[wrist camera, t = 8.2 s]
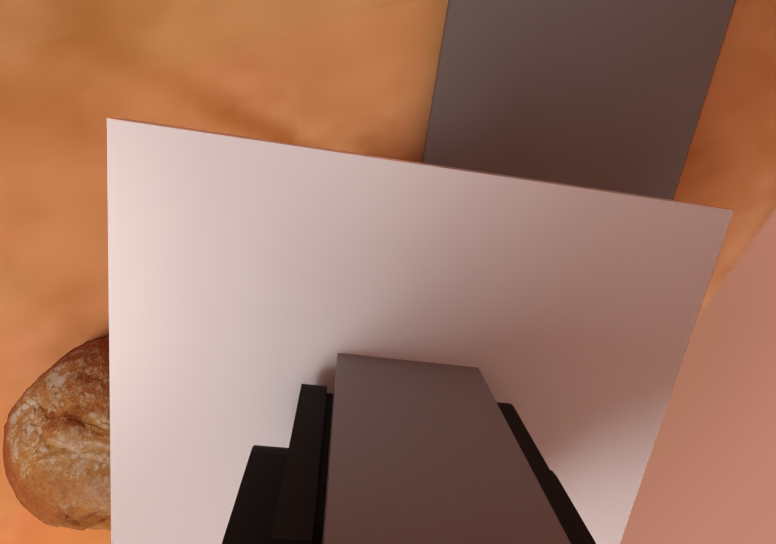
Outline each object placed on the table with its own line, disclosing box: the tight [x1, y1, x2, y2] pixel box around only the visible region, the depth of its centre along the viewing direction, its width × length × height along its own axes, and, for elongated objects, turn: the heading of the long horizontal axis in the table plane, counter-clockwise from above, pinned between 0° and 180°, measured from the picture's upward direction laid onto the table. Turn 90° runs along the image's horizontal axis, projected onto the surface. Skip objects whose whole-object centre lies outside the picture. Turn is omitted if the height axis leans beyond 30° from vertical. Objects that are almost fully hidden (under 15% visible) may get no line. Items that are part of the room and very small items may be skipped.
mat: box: [422, 0, 736, 200], centre depth 22 cm, size 13×13×1 cm
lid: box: [107, 118, 734, 544], centre depth 9 cm, size 12×12×6 cm
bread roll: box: [3, 337, 111, 530], centre depth 25 cm, size 10×10×8 cm
